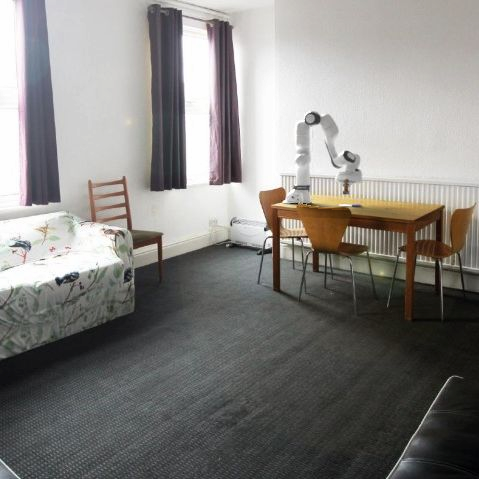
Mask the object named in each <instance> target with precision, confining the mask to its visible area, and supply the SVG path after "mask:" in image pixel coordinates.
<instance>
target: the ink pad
mask: <svg viewBox="0 0 479 479" xmlns="http://www.w3.org/2000/svg"><path fill="white" fill-rule="evenodd" d="M351 205H352V206H351V208H360V206H361V203H352V204H351Z"/></svg>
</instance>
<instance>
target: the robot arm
mask: <svg viewBox="0 0 479 479" xmlns="http://www.w3.org/2000/svg"><path fill="white" fill-rule="evenodd" d="M303 117H304V118H303V120H299V121H297V122H296V124H295V129H294V139H295V140H294V142H295V143H294V144H295V150H296V151H295V154H296V156H295V159H294V171H295V184H294V185H293V186H292V190H291V191H290V192H288V193H287V194H286V196H285V200H283V201H282V203H283V204H290V203H299V202H300V203H306V204H312V199H311V184H310V183H311V182H310V181H311V180H310V179H311V173H310V163H311V161H312V160H311V159H312V158H311V147H310V146H311V145H310V142H311V141H310V140H311V139H310V129H311V127H314V126H317V125H318V126H319V127H320V128H321V129H322V132H323V134H324V144H325V146H326V149H327V150H326V151H327V152H328V155H329V158H330V161H331V162H330V163H331V164H332V166H333V168H335V169H341V168H343V167H344V166H346V167H345V170H344V171H339V172H337V174H336V176H335V178H334V180H335V182H336V183H338V184H339V183H340V184H341V187H343V188H344V180H345V179H348V180H349V182H348V188H351V185H353V184H361V183H362V181H363V173H362V170H361V169H359V167H360V164H361V157H360V155H359V154H358V153H355V152H354V153H353V152H351V151H349V150H343V151H342V152H340V153H339V154H338V152H337V150H336V147H335V141H336V139H337V137H338V135H339V134H340V133H339V127H338V125H337V124H336V121H335V120H334V118H333V117H332V115H330V114H329V113H323V114H321V115H320V113H319V112H318V111H315V110H310V111H308V112H306V114H304V116H303Z"/></svg>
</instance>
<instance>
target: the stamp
mask: <svg viewBox="0 0 479 479" xmlns="http://www.w3.org/2000/svg"><path fill="white" fill-rule="evenodd" d="M348 182H349V180H348V179H345V180H344V183H343V184H344V187H343V189H344V190H342V195H350V190H349V187H348V184H349V183H348Z"/></svg>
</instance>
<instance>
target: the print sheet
mask: <svg viewBox="0 0 479 479" xmlns="http://www.w3.org/2000/svg"><path fill="white" fill-rule="evenodd" d="M352 205H353V204H351V203H350V204H348V203H347V204H345V203H344V204H343V203H340V204H339V207H348V208H349V207H350V208H352Z"/></svg>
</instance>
